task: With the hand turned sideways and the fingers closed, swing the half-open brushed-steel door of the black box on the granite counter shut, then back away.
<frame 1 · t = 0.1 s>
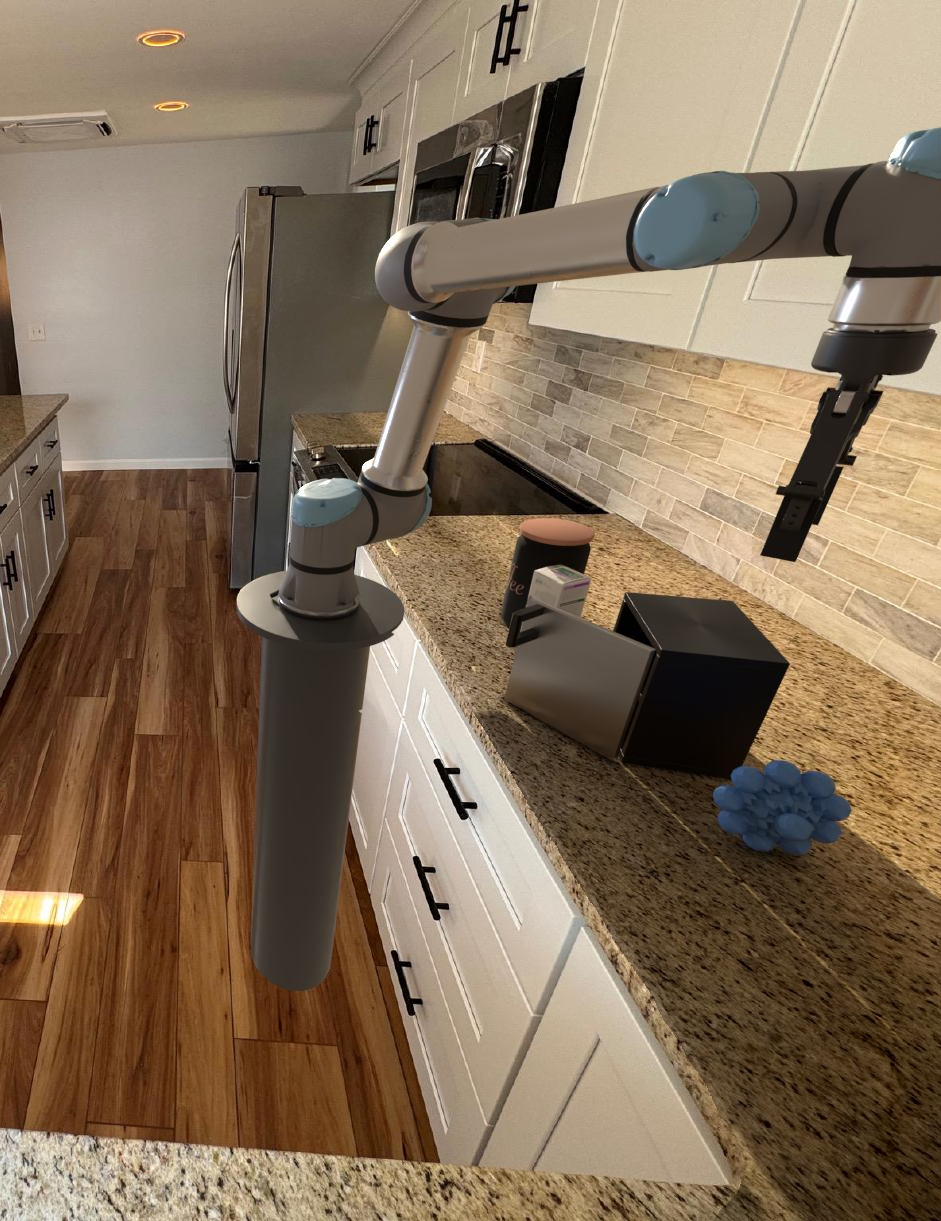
hand: (790, 539, 72), 30 cm above the countertop, tool pointing down, fingers open, 13 cm apart
blue flower: (761, 856, 73), on the countertop
black box: (657, 732, 91), on the countertop
door: (558, 682, 89), point 8 cm above the countertop, hinge at 45.0°
coffee jar: (532, 625, 119), on the countertop
syrup box: (542, 653, 111), on the countertop
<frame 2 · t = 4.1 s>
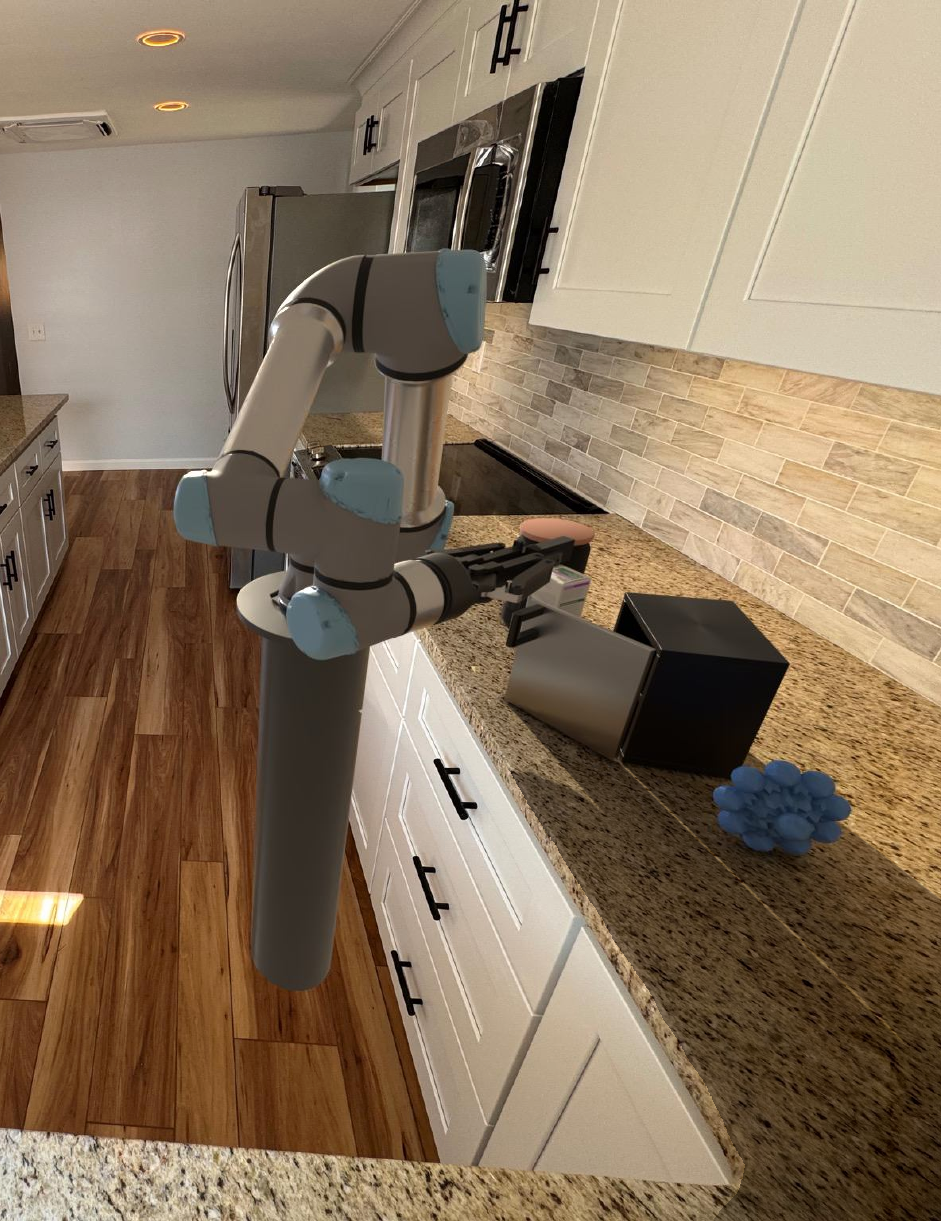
hand: (566, 548, 81), 28 cm above the countertop, tool horizontal, fingers closed
nothing on the countertop moved.
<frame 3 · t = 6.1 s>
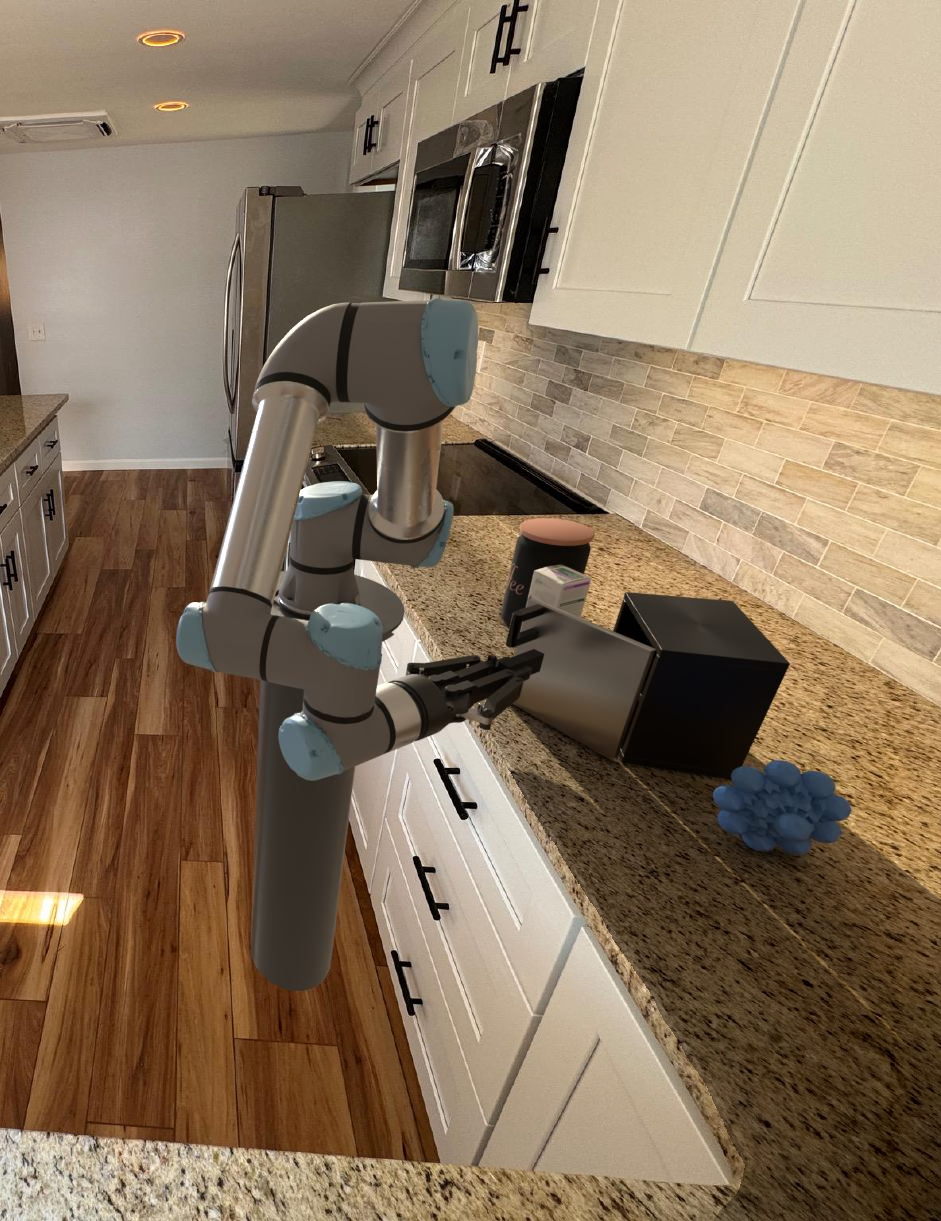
hand: (536, 660, 88), 12 cm above the countertop, tool horizontal, fingers closed
nothing on the countertop moved.
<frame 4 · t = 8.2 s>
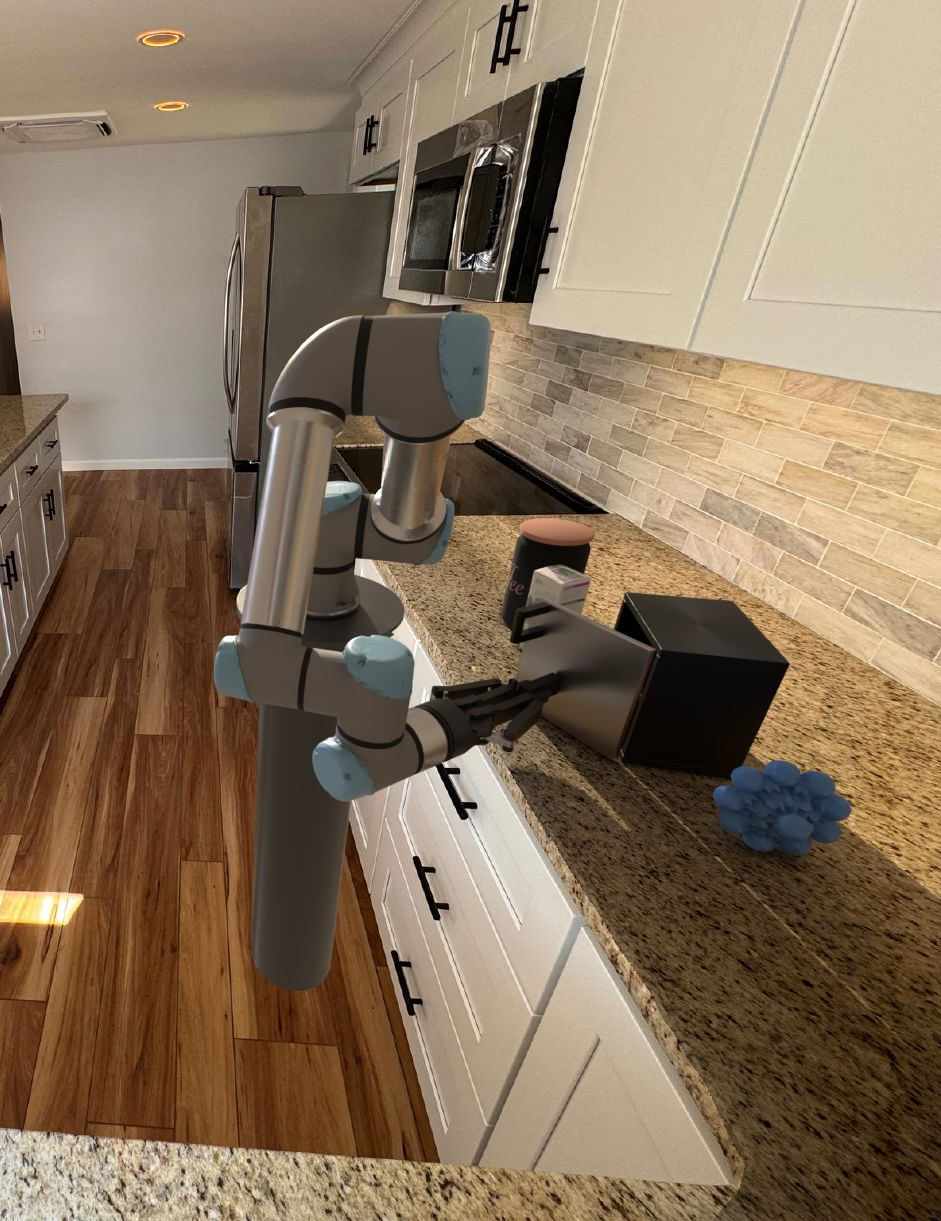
hand: (555, 683, 92), 6 cm above the countertop, tool horizontal, fingers closed
door: (560, 680, 89), point 8 cm above the countertop, hinge at 39.9°, touching gripper
everything else where it was.
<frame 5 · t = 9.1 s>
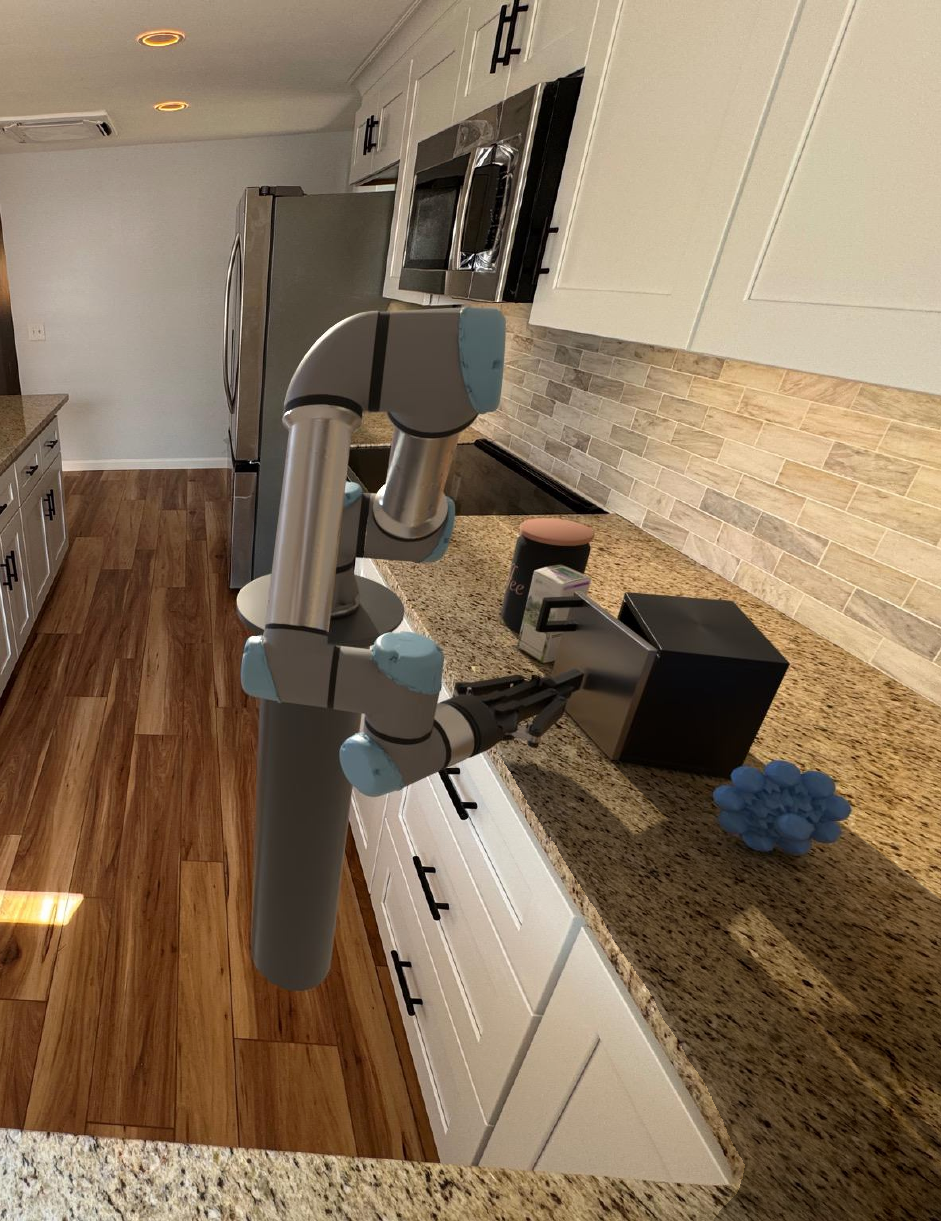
hand: (577, 678, 92), 6 cm above the countertop, tool horizontal, fingers closed
door: (576, 673, 90), point 8 cm above the countertop, hinge at 18.1°, touching gripper
everything else where it was.
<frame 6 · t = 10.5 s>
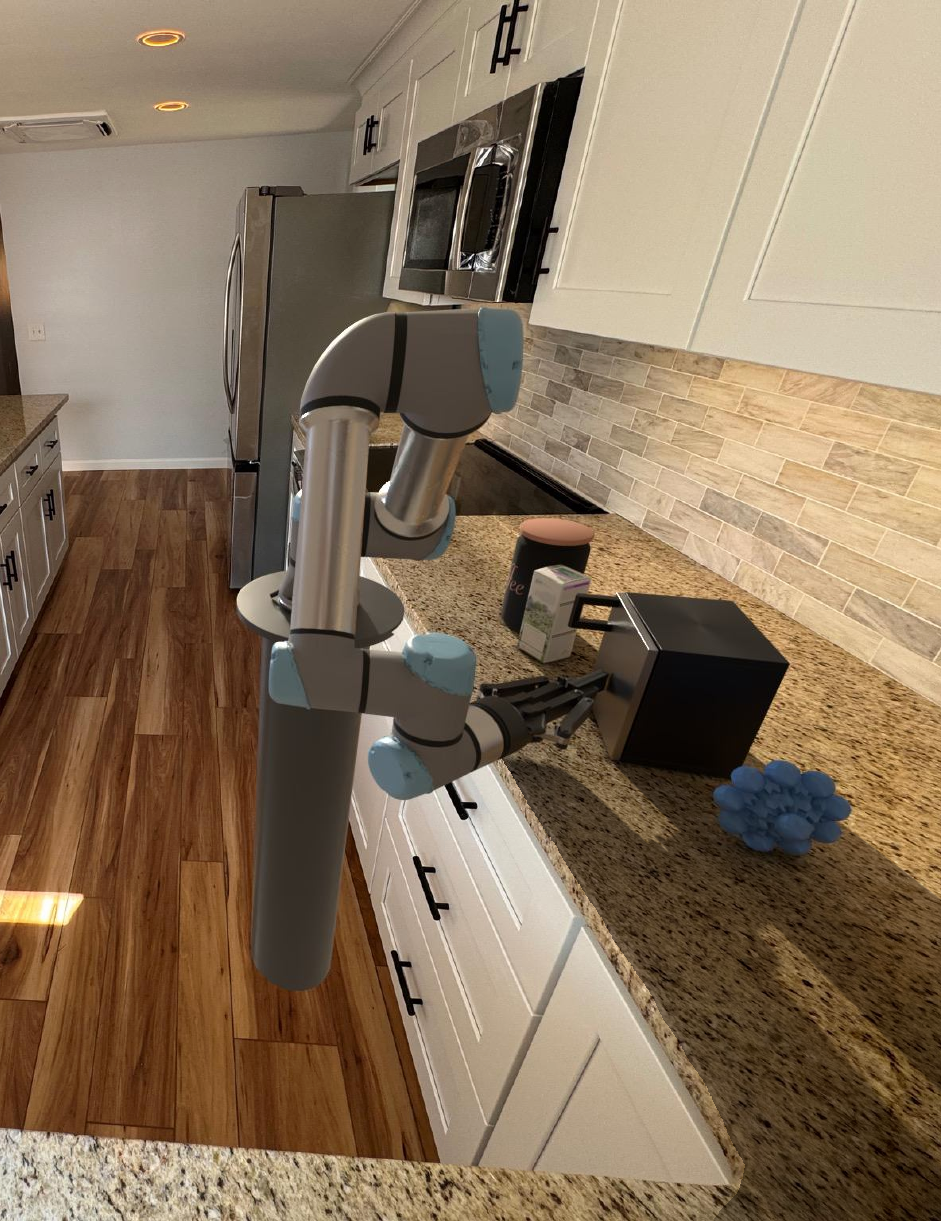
hand: (601, 679, 92), 6 cm above the countertop, tool horizontal, fingers closed
door: (595, 671, 90), point 8 cm above the countertop, hinge at -0.9°, touching black box, gripper
everything else where it was.
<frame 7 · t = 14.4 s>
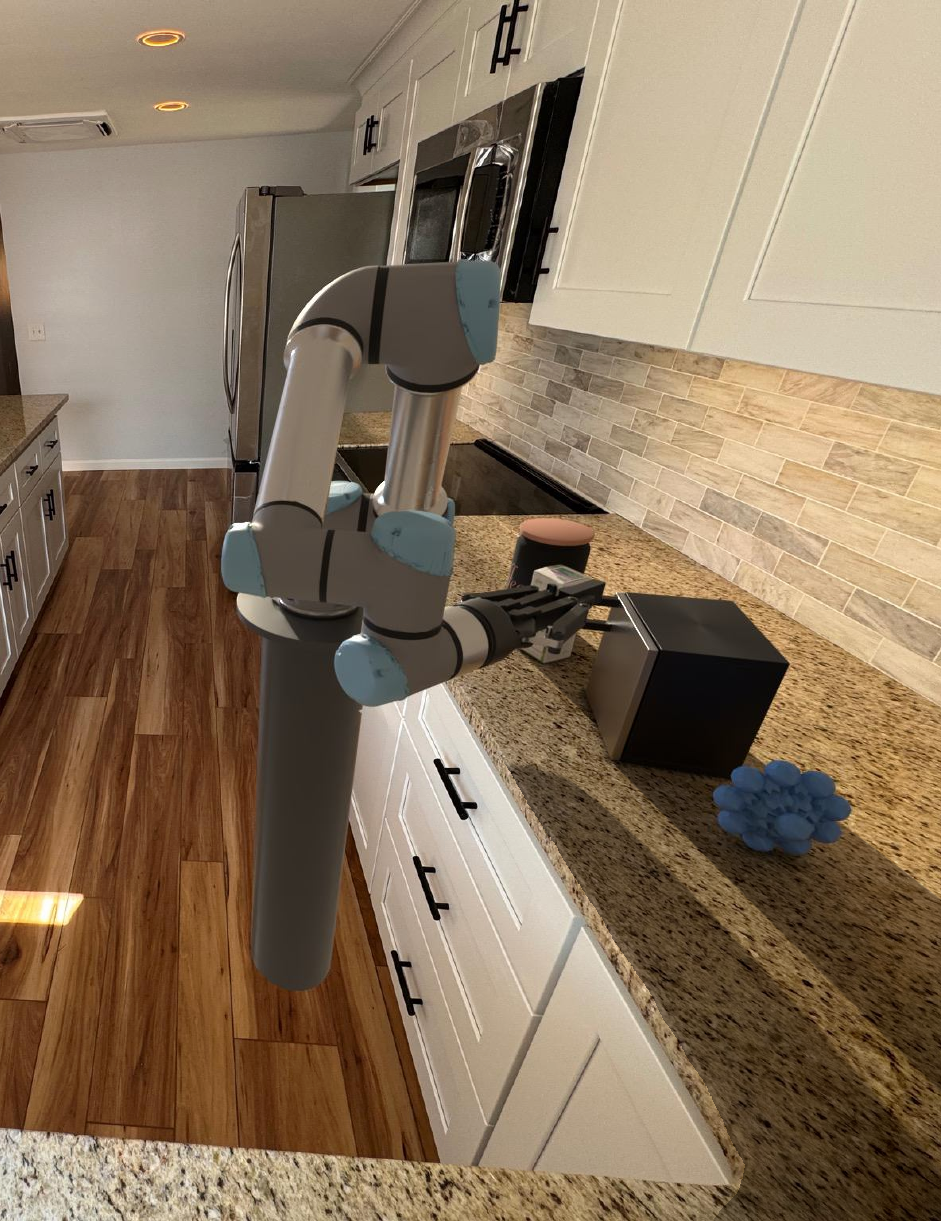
hand: (597, 590, 83), 22 cm above the countertop, tool horizontal, fingers closed
door: (595, 671, 90), point 8 cm above the countertop, hinge at -0.6°
everything else where it was.
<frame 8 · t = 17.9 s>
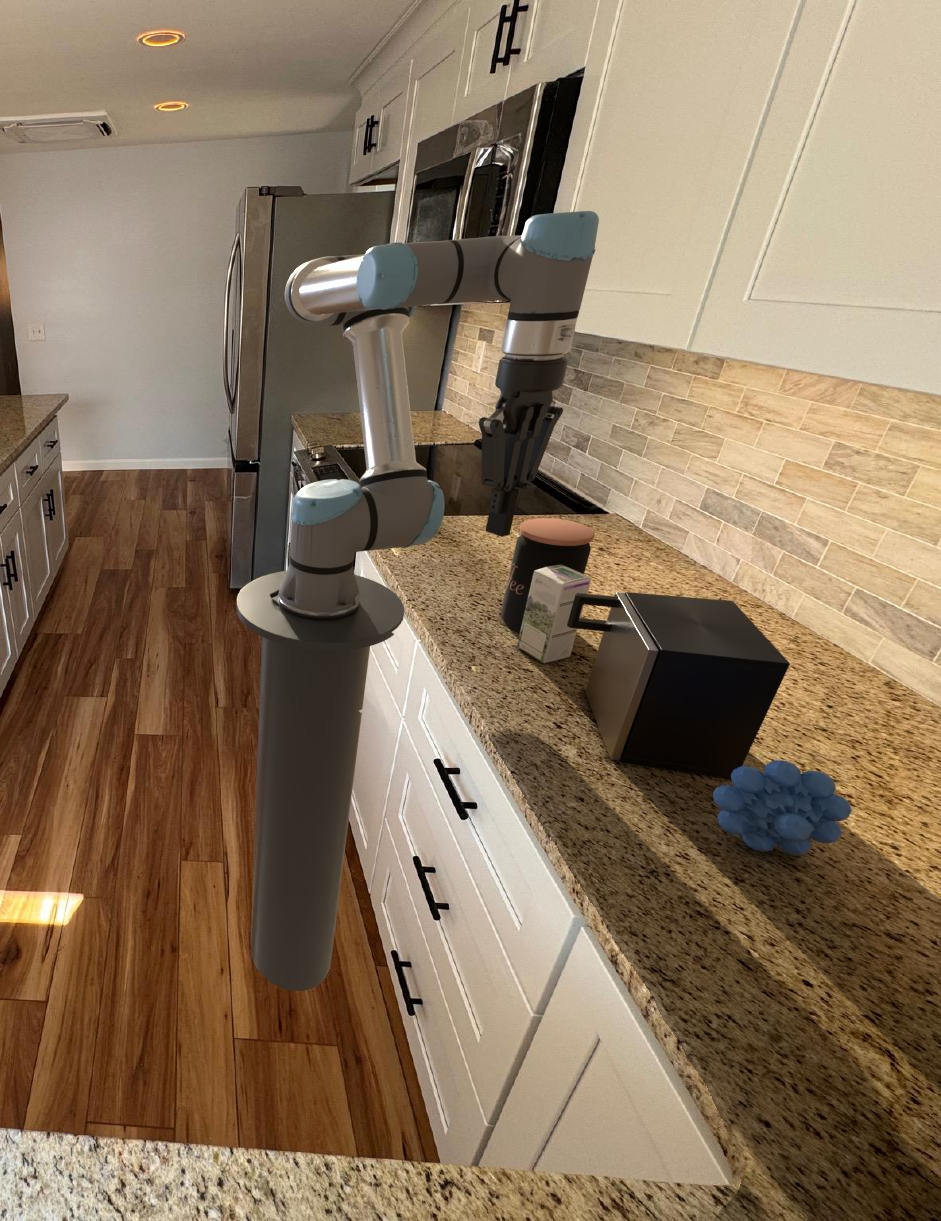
hand: (497, 532, 94), 24 cm above the countertop, tool pointing down, fingers closed
nothing on the countertop moved.
at the end: door at -1° (first picture: +45°); syrup box moved 0.2 cm from its start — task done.
